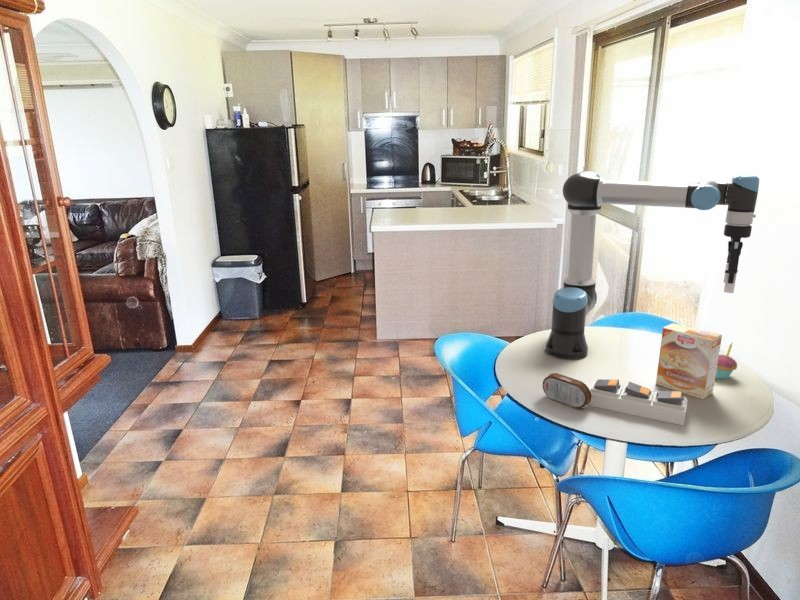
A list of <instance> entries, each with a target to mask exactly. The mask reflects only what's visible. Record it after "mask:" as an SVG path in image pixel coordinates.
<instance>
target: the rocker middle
mask: <svg viewBox="0 0 800 600" xmlns="http://www.w3.org/2000/svg"><path fill="white" fill-rule="evenodd" d="M626 386H627V389H626V391H625V393H627V394H630V395H632V396H635V397H639V398H644V399H647V398H648V395H649V392H650V390H651V389H650V388H648V387H645V386H643V385H640V384H638V383H634V382H631V381H628V384H627V385H626Z"/></svg>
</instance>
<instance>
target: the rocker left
mask: <svg viewBox="0 0 800 600" xmlns="http://www.w3.org/2000/svg"><path fill="white" fill-rule="evenodd" d="M596 380H597V382H596V384H595V389H598V390H603V391H617V389H618V387H619V385H620V380H619V379H596Z"/></svg>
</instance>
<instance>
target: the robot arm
mask: <svg viewBox="0 0 800 600" xmlns="http://www.w3.org/2000/svg"><path fill="white" fill-rule="evenodd" d="M759 187H760V178H759V177H758V176H757V175H749V174H747V175H746V174H744V175H740V174H739V175H738V174H737V175H733V177H732V178H731V180H730V181H720V180H719V181H718V180H717V181H716V180H715V181H714V180H693V181H690V183H683V182H680V183H678V182H675V183H674V182H656V181H655V182H650V181H648V182H647V181H626V180H625V181H621V180H620V181H619V180H618V181H617V180H606V179H605V178H604V177H602V176H601V175H600V174H599V173H597V172H595V171H590V170H585V171H580V172H578V173H577V172H576V173H574V174H572V175H570V176H569V177H568V178H567V179H566V180H565V181H564V184H563V186H562V195H563V198H564V200H565V201H566V203H567V210H568V211H569V212H570V213H571V217H570V218H571V222H570V237H569V239H570V240H569V255H568V256H569V257H568V269H567V270H568V273H567V274H568V275H567V277H565V278H564V280H563V287H562V288H561V287H560V288H559V289H557V290H555V292H554V294H553V298H552V315H551V330H550V333H549V336H548V338H547V340H546V342H545V346H544V347H545V348H544V350H545V351H544V352H545V353H546V354H547V355H548V356H551V357H552V358H553V357H554V358H556V359H562V360H579V359H580V358H581V359H584V358H586V357H587V356H588V351H589V347H588V343H587V340H586V335H585V327H586V319H587V318H586V316H588V315H589V313H590V312H591V311H592V310H593V309H594V307H596V304H597V301H598V294H597V291H596V285H597V284H596V283H597V282H596V280H595V279H594V278H593V267H594V265H593V264H594V250H595V249H594V248H595V239H596V238H595V236H596V235H595V234H596V224H597V214H598V213H599V212H600V211H601V210H602V205H603V204H604V205H622V206H623V205H626V206H646V207H647V206H648V207H664V208H666V207H667V208H684V209H685V208H688V209H697V210H700V211H708V210H711V209H713V208H715V207H716V206H717V205H719V206H727V209H726V216H725V223H726V224H724V229H723V235H724V236H725V237H728V238H730V240H729V241H728V242H727V243H728V244H727V252H728V253H727V258H726V265H725V270H724V277H723V284H724V288H723V289H724V290H723V293H726V294H727V293H729V294H734V291H735V286H736V281H737V273H738V271H739V270H738V269H739V268H738V267H739V261H740V256H741V253H742V249H743V244H744V243H743V241H741V239H746V238H750V237H751V233H752V228H753V227H752V224H753V222H754V221H753V220H754V218H756V217H757V215H756V214H755V211H756V204H757V201H758V200H757V199H758V195H759V189H760V188H759Z"/></svg>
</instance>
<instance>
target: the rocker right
mask: <svg viewBox="0 0 800 600" xmlns="http://www.w3.org/2000/svg"><path fill="white" fill-rule="evenodd" d="M657 392H658V396H657V401H659V402H664V403H674V404H681V403H682V396H683V393H682V391H676V390H658V391H657Z"/></svg>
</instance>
